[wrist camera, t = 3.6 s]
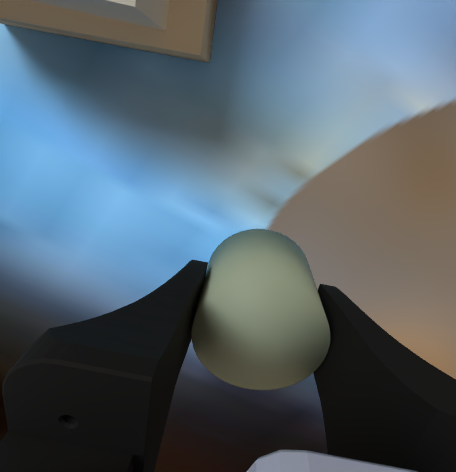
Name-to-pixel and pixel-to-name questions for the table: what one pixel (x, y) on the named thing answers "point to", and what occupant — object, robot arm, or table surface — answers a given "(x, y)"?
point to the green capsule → (260, 313)
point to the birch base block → (124, 27)
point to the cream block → (120, 10)
